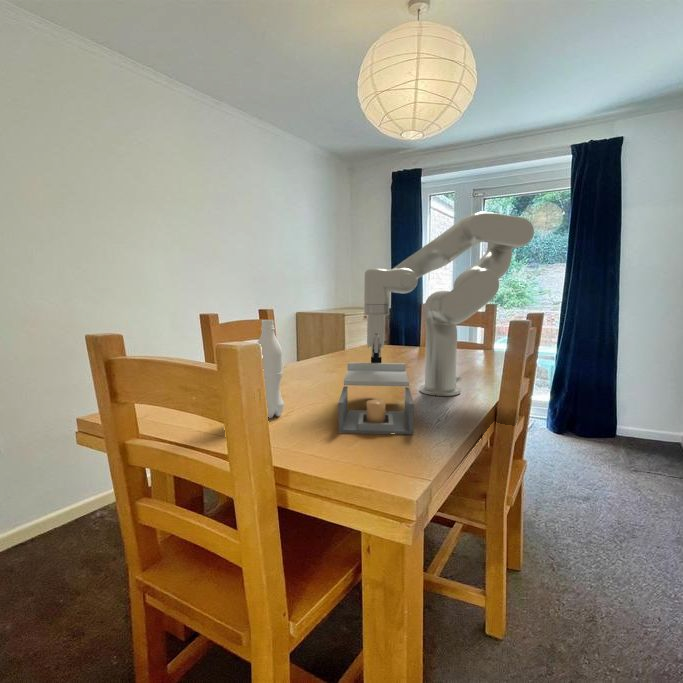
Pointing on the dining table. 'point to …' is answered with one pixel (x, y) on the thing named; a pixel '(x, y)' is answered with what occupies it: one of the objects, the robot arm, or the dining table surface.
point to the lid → (376, 374)
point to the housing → (358, 423)
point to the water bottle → (272, 368)
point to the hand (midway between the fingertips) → (376, 369)
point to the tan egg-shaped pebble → (376, 411)
